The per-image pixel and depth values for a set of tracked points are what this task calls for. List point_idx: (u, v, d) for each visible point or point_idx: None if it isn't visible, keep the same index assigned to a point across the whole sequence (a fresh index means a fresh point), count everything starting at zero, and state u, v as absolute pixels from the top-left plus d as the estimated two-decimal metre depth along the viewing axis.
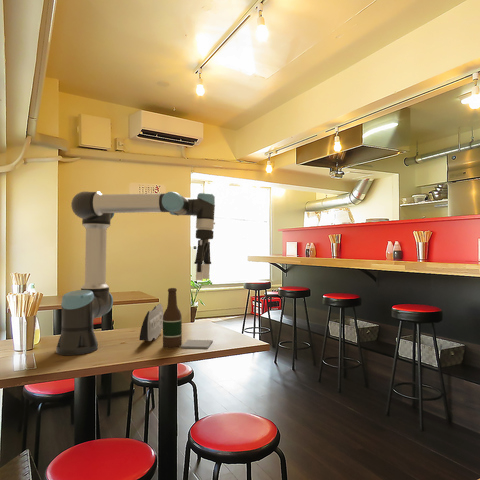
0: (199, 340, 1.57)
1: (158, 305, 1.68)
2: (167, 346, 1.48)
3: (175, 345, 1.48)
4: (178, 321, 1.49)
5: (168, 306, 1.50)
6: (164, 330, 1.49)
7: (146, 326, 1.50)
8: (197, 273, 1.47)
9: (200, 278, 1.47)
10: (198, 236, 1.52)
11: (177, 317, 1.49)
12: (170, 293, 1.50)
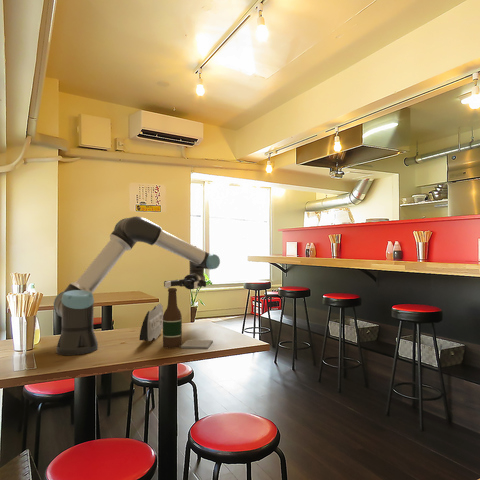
0: (199, 340, 1.57)
1: (158, 305, 1.68)
2: (167, 346, 1.48)
3: (175, 345, 1.48)
4: (178, 321, 1.49)
5: (168, 306, 1.50)
6: (164, 330, 1.49)
7: (146, 326, 1.50)
8: (197, 283, 1.65)
9: (196, 286, 1.63)
10: (196, 278, 1.81)
11: (177, 317, 1.49)
12: (170, 293, 1.50)
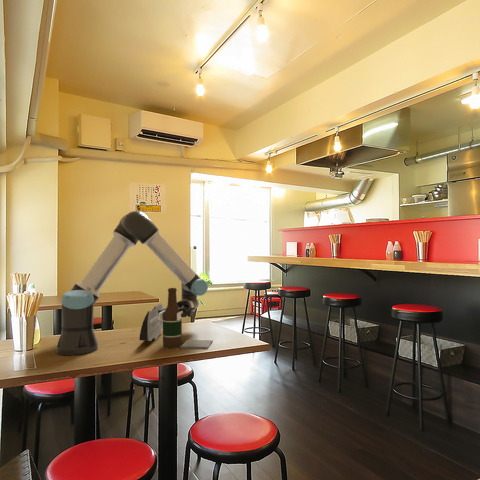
0: (199, 340, 1.57)
1: (158, 305, 1.68)
2: (167, 346, 1.48)
3: (175, 345, 1.48)
4: (178, 321, 1.49)
5: (168, 306, 1.50)
6: (164, 330, 1.49)
7: (146, 326, 1.50)
8: (180, 313, 1.49)
9: (179, 318, 1.47)
10: (188, 304, 1.66)
11: None
12: (170, 293, 1.50)
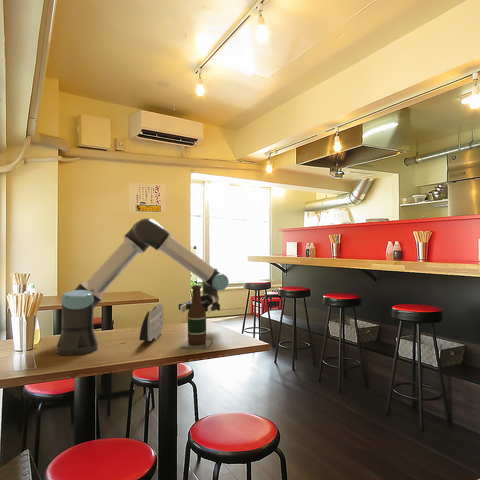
0: None
1: (158, 305, 1.68)
2: (192, 343, 1.49)
3: (200, 342, 1.49)
4: (203, 318, 1.50)
5: (193, 303, 1.51)
6: (189, 327, 1.50)
7: (146, 326, 1.50)
8: (210, 307, 1.51)
9: (210, 311, 1.49)
10: (211, 299, 1.67)
11: (202, 314, 1.50)
12: (194, 291, 1.51)
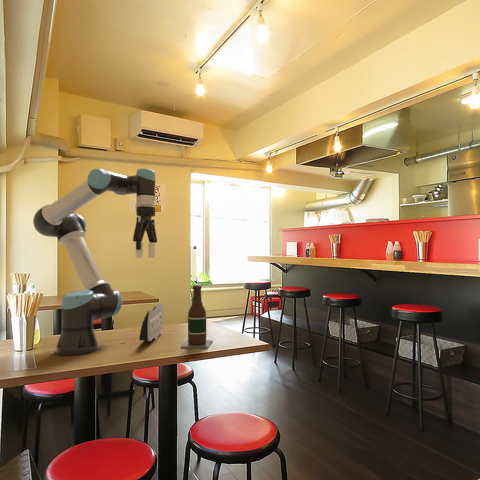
0: None
1: (158, 305, 1.68)
2: (192, 343, 1.49)
3: (200, 342, 1.49)
4: (203, 318, 1.50)
5: (193, 303, 1.52)
6: (189, 327, 1.50)
7: (146, 326, 1.50)
8: (137, 251, 1.42)
9: (140, 256, 1.42)
10: (138, 213, 1.47)
11: (202, 314, 1.50)
12: (195, 290, 1.52)
